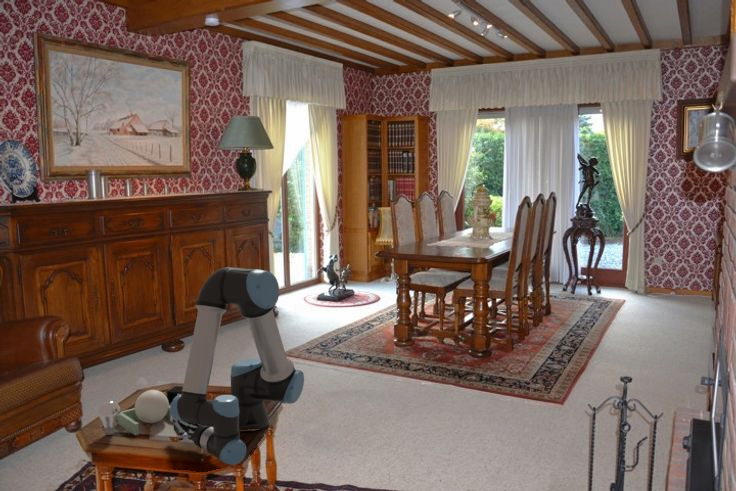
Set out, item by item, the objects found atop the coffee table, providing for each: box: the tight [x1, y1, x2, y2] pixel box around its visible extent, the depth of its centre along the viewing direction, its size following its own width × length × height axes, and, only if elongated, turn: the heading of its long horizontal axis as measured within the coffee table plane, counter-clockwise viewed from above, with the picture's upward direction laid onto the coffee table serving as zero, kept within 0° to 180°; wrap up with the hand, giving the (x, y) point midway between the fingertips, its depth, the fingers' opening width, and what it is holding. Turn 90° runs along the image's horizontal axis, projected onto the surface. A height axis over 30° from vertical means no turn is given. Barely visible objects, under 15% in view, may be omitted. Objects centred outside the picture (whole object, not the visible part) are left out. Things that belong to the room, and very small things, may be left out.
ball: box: [134, 389, 170, 424], centre depth 222 cm, size 12×12×12 cm
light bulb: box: [97, 400, 121, 436], centre depth 210 cm, size 7×7×12 cm
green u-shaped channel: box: [116, 404, 171, 436], centre depth 221 cm, size 14×17×4 cm
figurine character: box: [162, 385, 183, 405], centre depth 238 cm, size 7×8×15 cm
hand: (172, 416), depth 209 cm, fingers closed
